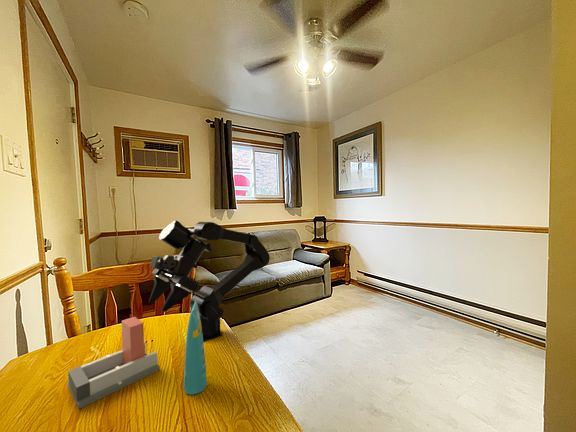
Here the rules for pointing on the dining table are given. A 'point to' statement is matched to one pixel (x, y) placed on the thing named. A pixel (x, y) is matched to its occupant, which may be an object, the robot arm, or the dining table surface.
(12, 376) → the dining table surface
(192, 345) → the tube
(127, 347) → the plug
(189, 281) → the robot arm
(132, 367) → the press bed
